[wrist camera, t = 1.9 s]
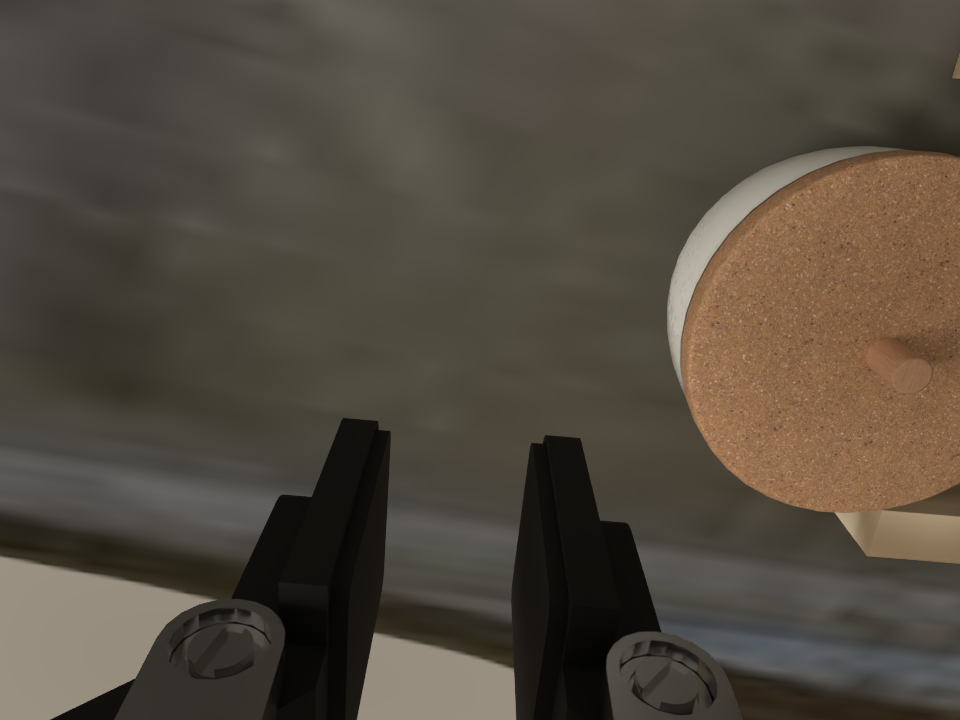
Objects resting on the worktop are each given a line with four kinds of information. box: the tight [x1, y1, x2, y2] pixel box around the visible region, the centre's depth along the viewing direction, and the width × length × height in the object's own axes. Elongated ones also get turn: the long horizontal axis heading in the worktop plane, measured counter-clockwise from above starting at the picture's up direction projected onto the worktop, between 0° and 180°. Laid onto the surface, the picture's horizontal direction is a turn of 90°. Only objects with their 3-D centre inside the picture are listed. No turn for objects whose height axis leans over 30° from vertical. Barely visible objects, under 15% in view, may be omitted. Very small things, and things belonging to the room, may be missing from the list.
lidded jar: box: [667, 146, 960, 513], centre depth 24 cm, size 11×11×9 cm
